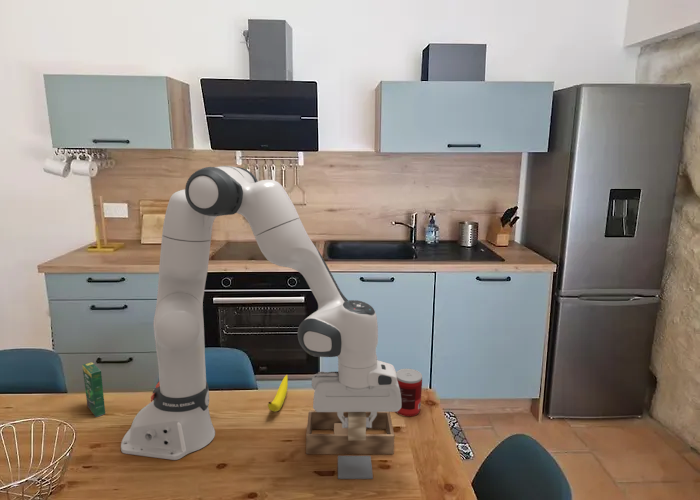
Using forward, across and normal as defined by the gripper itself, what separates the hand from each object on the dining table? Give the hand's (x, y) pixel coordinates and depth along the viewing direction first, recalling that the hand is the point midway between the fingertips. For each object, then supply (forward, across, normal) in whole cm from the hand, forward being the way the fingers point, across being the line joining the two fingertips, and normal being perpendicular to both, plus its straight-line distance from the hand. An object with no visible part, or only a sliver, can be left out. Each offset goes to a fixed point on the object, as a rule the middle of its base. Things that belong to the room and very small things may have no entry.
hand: (356, 426), depth 116 cm
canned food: (+11, +16, +26) cm, 32 cm away
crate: (+11, -1, +11) cm, 15 cm away
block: (+2, 0, 0) cm, 2 cm away
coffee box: (+10, -72, +25) cm, 77 cm away
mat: (+11, 0, 0) cm, 11 cm away
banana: (+11, -21, +28) cm, 37 cm away
